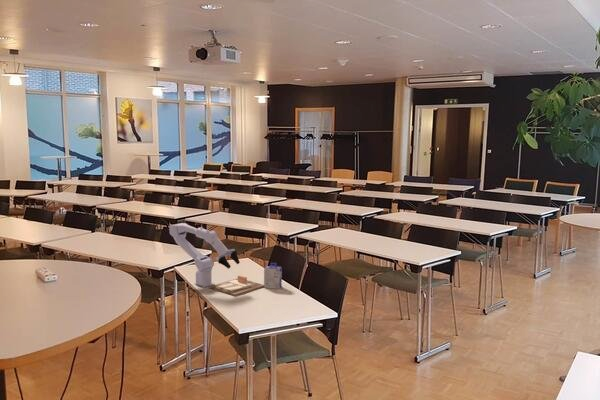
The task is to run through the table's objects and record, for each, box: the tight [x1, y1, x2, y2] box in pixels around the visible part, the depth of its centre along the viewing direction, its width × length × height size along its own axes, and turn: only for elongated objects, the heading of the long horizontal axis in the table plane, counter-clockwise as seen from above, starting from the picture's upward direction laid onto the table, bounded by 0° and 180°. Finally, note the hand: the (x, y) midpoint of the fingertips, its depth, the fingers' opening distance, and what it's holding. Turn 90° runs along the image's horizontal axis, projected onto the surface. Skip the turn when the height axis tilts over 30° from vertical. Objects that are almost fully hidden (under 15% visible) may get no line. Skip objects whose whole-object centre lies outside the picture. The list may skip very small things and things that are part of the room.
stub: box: [228, 275, 251, 288], centre depth 296 cm, size 14×6×5 cm, turn 51°
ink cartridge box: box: [263, 262, 283, 290], centre depth 296 cm, size 10×6×14 cm, turn 78°
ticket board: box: [208, 277, 264, 297], centre depth 294 cm, size 22×24×2 cm
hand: (234, 265), depth 287 cm, fingers open, 7 cm apart
